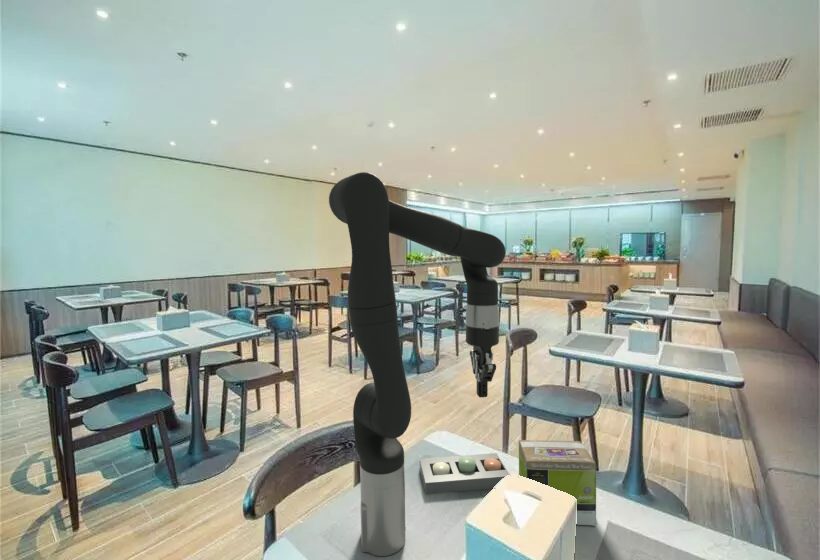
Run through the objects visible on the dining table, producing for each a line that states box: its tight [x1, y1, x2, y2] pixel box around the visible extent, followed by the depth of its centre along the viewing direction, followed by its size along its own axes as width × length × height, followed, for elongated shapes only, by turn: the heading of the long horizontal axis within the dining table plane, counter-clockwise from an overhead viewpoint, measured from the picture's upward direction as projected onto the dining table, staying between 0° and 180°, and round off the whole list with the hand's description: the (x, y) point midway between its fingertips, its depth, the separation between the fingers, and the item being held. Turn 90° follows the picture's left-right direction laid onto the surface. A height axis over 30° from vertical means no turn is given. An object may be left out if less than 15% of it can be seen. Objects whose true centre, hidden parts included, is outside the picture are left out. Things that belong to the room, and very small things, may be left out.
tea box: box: [518, 439, 597, 526], centre depth 89 cm, size 15×10×15 cm, turn 84°
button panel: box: [419, 452, 511, 495], centre depth 102 cm, size 22×11×3 cm, turn 96°
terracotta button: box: [484, 458, 501, 471], centre depth 103 cm, size 4×4×3 cm
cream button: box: [433, 462, 450, 475], centre depth 101 cm, size 4×4×3 cm
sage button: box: [459, 456, 475, 473], centre depth 102 cm, size 4×4×3 cm
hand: (482, 396), depth 89 cm, fingers closed
